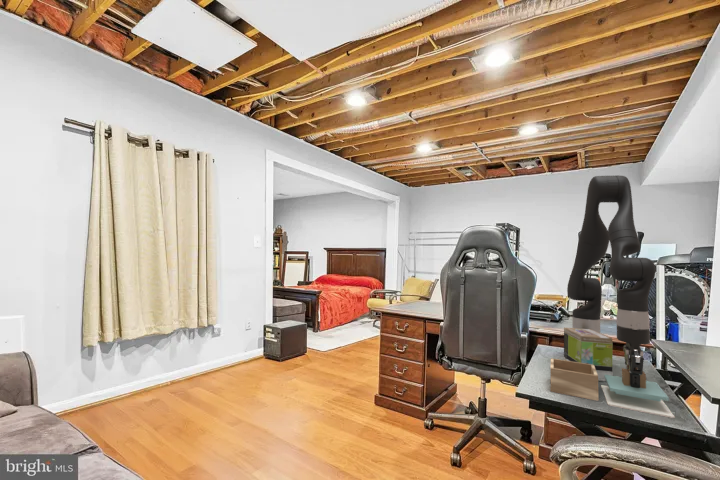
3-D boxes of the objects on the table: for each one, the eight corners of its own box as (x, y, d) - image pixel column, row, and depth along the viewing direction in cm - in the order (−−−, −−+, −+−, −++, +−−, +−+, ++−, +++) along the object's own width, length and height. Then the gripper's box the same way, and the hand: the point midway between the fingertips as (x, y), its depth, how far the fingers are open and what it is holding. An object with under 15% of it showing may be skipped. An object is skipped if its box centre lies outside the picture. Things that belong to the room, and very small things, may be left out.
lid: (604, 380, 105) (604, 361, 106) (656, 388, 99) (656, 368, 99) (610, 394, 95) (609, 373, 95) (669, 404, 88) (668, 382, 88)
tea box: (614, 382, 111) (613, 337, 111) (580, 379, 113) (580, 335, 113) (592, 367, 125) (591, 328, 126) (562, 365, 127) (562, 326, 128)
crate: (551, 379, 112) (550, 358, 113) (594, 386, 106) (593, 364, 107) (550, 391, 102) (550, 368, 102) (598, 400, 96) (598, 376, 96)
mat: (601, 386, 107) (601, 384, 107) (658, 396, 100) (658, 394, 100) (608, 405, 93) (607, 403, 93) (674, 418, 86) (674, 416, 86)
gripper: (613, 319, 105) (613, 375, 105) (620, 328, 93) (621, 390, 93) (643, 322, 102) (644, 380, 101) (655, 331, 90) (657, 396, 89)
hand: (633, 384), depth 97 cm, fingers closed on lid, 3 cm apart
